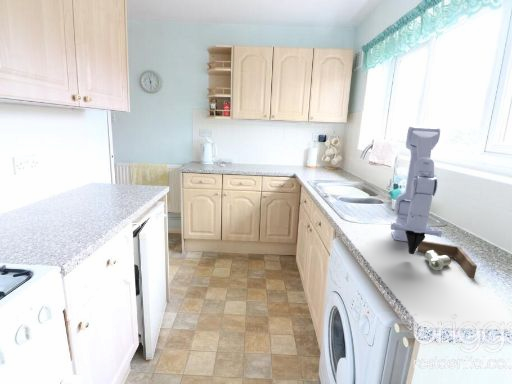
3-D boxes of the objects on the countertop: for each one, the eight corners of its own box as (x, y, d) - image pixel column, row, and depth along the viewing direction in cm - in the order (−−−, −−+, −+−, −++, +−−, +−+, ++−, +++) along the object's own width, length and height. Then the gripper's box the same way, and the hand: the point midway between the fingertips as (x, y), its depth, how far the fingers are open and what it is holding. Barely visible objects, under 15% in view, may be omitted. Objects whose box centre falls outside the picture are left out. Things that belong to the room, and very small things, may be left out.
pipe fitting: (446, 264, 95) (424, 258, 97) (449, 253, 94) (427, 248, 96) (453, 275, 88) (429, 269, 90) (457, 264, 87) (432, 258, 89)
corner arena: (417, 250, 104) (419, 240, 103) (457, 257, 100) (459, 246, 99) (426, 269, 90) (428, 257, 89) (474, 278, 86) (477, 266, 85)
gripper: (395, 213, 90) (388, 253, 94) (448, 220, 86) (439, 262, 89) (392, 208, 97) (386, 245, 100) (441, 214, 92) (433, 253, 96)
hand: (411, 252), depth 95 cm, fingers closed
